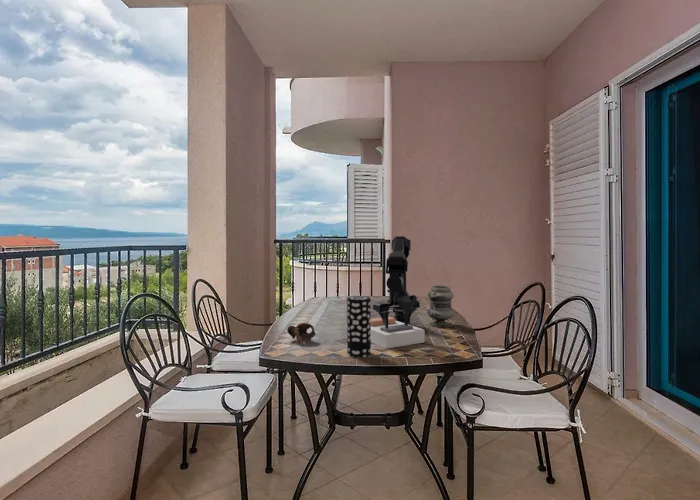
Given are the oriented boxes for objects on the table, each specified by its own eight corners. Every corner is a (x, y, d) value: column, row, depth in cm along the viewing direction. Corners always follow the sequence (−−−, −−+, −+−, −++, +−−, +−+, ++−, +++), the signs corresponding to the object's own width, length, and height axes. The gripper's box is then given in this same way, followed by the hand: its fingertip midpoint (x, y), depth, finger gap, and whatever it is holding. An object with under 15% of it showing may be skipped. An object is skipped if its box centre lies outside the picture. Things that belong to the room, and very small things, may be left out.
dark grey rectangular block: (405, 333, 173) (405, 324, 173) (412, 336, 169) (412, 326, 169) (380, 337, 168) (380, 327, 167) (387, 340, 163) (387, 329, 163)
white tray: (390, 330, 188) (390, 318, 188) (424, 342, 167) (424, 329, 167) (354, 334, 180) (354, 323, 180) (385, 348, 159) (385, 335, 159)
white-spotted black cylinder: (354, 358, 147) (353, 300, 146) (343, 352, 154) (343, 297, 153) (375, 355, 150) (374, 298, 150) (363, 349, 158) (363, 295, 157)
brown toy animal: (317, 339, 175) (319, 324, 171) (309, 355, 167) (311, 339, 163) (290, 330, 177) (291, 315, 173) (280, 346, 169) (282, 330, 165)
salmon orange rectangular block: (389, 325, 184) (389, 316, 184) (395, 328, 179) (395, 318, 179) (365, 328, 178) (364, 319, 178) (371, 331, 174) (371, 321, 174)
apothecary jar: (433, 328, 191) (433, 288, 190) (423, 322, 203) (423, 285, 202) (458, 327, 193) (458, 287, 193) (447, 321, 205) (447, 284, 204)
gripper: (387, 291, 156) (388, 334, 157) (428, 288, 165) (428, 328, 165) (372, 288, 166) (372, 328, 166) (411, 285, 175) (411, 323, 175)
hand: (396, 326), depth 168 cm, fingers open, 9 cm apart
